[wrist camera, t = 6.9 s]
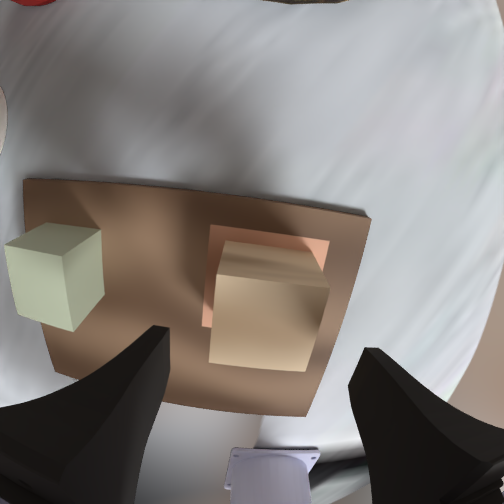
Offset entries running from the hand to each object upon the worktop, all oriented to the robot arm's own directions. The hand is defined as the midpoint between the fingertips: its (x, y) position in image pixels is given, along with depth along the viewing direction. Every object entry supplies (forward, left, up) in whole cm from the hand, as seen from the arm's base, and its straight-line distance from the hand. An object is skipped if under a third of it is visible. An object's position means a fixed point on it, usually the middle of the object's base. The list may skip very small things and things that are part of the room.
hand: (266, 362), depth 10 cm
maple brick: (0, 0, -6) cm, 6 cm away
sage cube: (0, +11, -6) cm, 12 cm away
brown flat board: (-3, +5, -6) cm, 9 cm away
